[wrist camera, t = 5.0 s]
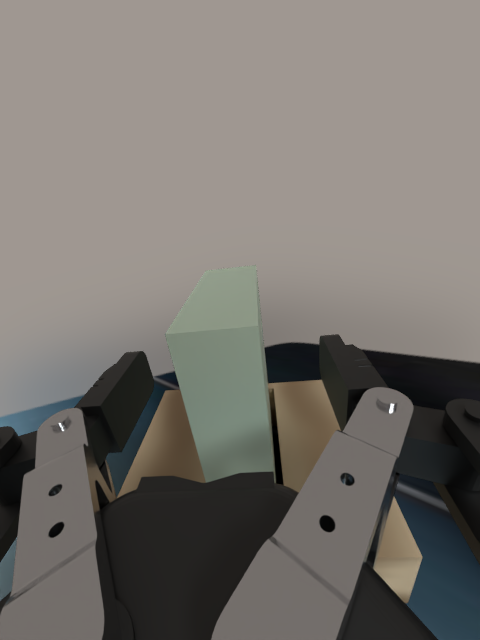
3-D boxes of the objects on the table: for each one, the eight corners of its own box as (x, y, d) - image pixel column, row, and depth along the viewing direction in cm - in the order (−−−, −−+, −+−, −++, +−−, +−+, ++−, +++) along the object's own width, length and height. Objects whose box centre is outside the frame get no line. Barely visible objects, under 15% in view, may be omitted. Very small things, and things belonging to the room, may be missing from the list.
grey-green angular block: (273, 436, 21) (256, 265, 15) (283, 560, 14) (258, 325, 8) (236, 437, 21) (205, 270, 16) (227, 560, 14) (164, 334, 8)
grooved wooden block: (337, 416, 22) (338, 378, 20) (407, 602, 12) (422, 557, 10) (176, 425, 23) (165, 390, 22) (117, 600, 13) (89, 559, 12)
